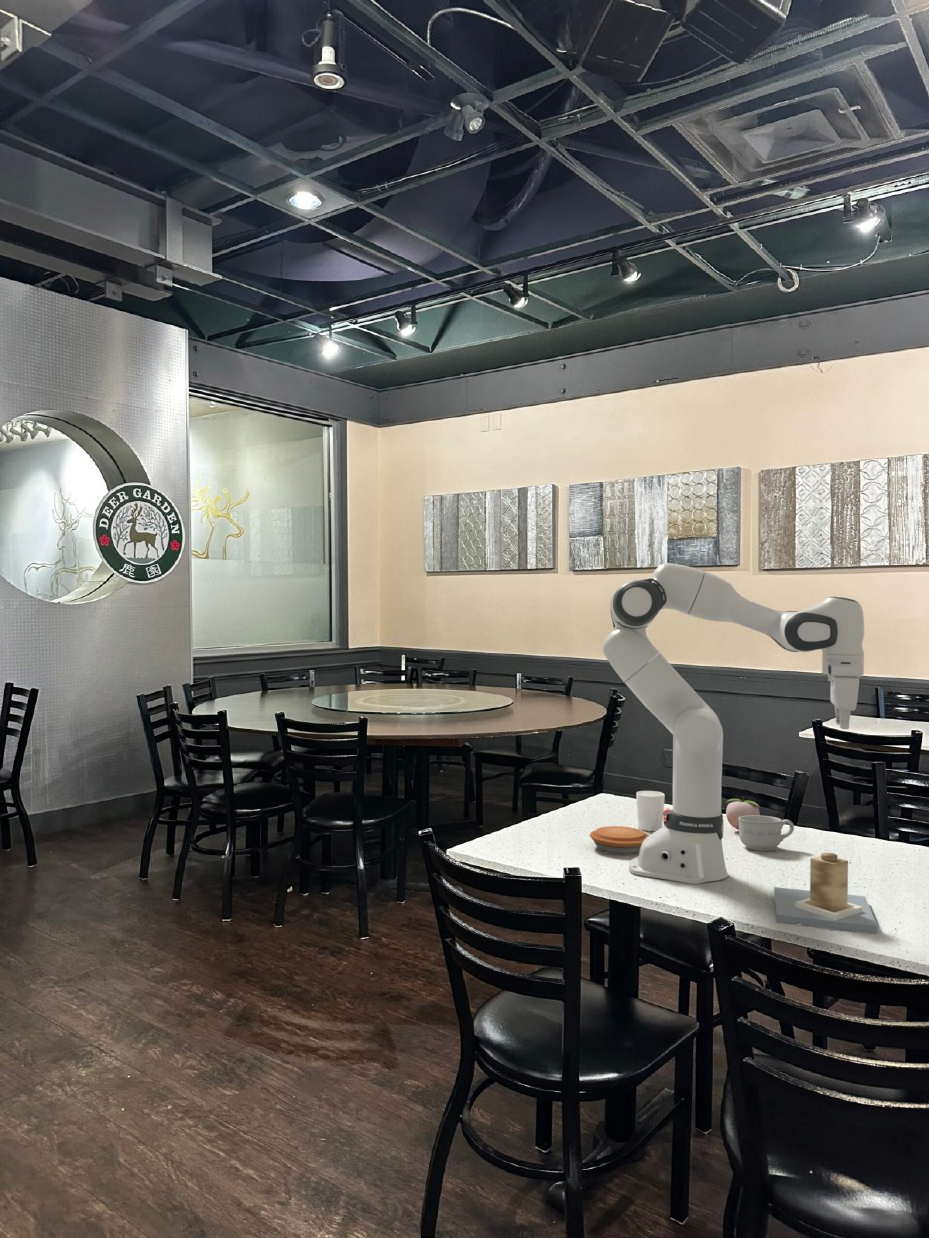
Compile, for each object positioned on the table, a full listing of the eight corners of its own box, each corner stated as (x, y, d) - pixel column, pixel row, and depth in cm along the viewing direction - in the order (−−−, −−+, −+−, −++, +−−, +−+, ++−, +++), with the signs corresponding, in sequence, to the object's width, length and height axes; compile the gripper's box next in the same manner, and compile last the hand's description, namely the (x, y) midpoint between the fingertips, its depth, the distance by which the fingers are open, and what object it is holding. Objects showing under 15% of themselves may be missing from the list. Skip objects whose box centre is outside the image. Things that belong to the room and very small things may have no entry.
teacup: (739, 852, 219) (740, 820, 219) (736, 841, 229) (736, 811, 229) (797, 856, 215) (797, 824, 215) (791, 845, 226) (791, 815, 226)
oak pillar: (809, 907, 172) (810, 853, 172) (824, 903, 174) (825, 849, 174) (832, 915, 167) (833, 859, 168) (847, 910, 170) (848, 855, 170)
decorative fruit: (723, 833, 238) (723, 797, 238) (727, 827, 245) (727, 792, 245) (758, 837, 234) (758, 801, 234) (761, 830, 241) (761, 795, 241)
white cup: (644, 823, 248) (644, 789, 248) (669, 828, 243) (669, 793, 243) (631, 828, 242) (631, 793, 242) (656, 833, 237) (656, 797, 237)
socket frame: (795, 906, 172) (795, 901, 172) (821, 899, 177) (821, 894, 177) (835, 920, 165) (835, 914, 165) (862, 911, 170) (862, 906, 170)
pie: (577, 848, 221) (577, 829, 221) (612, 838, 231) (612, 820, 231) (627, 861, 210) (627, 841, 210) (661, 849, 220) (662, 830, 220)
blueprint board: (776, 922, 167) (776, 914, 167) (774, 893, 185) (774, 886, 185) (877, 933, 162) (877, 925, 162) (864, 903, 179) (865, 896, 179)
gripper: (824, 664, 208) (823, 721, 208) (832, 668, 189) (831, 730, 189) (852, 665, 206) (851, 722, 206) (863, 669, 187) (862, 732, 187)
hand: (842, 726), depth 197 cm, fingers open, 8 cm apart
